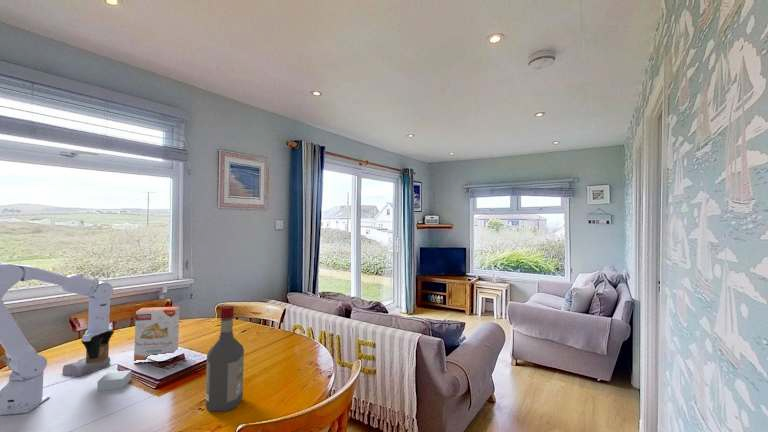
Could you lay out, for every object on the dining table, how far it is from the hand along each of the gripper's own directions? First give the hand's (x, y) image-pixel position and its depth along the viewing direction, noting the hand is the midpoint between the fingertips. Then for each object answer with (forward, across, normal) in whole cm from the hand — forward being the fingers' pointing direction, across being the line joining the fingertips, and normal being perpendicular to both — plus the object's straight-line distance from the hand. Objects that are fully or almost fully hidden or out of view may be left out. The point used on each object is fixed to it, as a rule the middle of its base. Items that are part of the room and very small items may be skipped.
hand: (97, 355), depth 119 cm
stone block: (+10, +13, +10) cm, 19 cm away
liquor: (+9, -25, -46) cm, 53 cm away
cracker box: (+9, +17, -12) cm, 23 cm away
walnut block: (+2, 0, 0) cm, 2 cm away
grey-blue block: (+9, -4, -7) cm, 12 cm away
